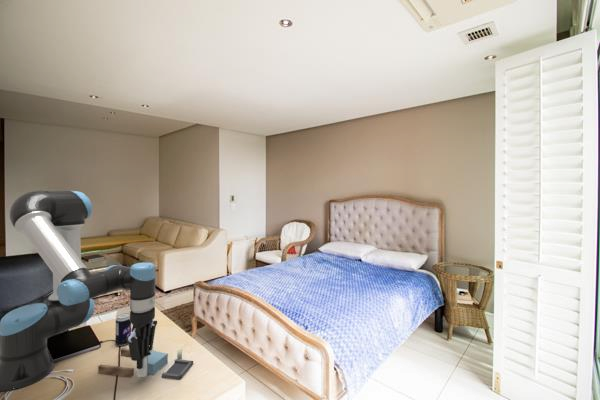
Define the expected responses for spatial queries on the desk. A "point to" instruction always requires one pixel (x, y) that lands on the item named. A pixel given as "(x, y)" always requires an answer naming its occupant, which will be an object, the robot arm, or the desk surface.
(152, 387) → the desk surface
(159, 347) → the desk surface
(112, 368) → the parallel brown rails
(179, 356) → the goal posts
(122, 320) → the beverage can
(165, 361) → the block
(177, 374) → the tray
